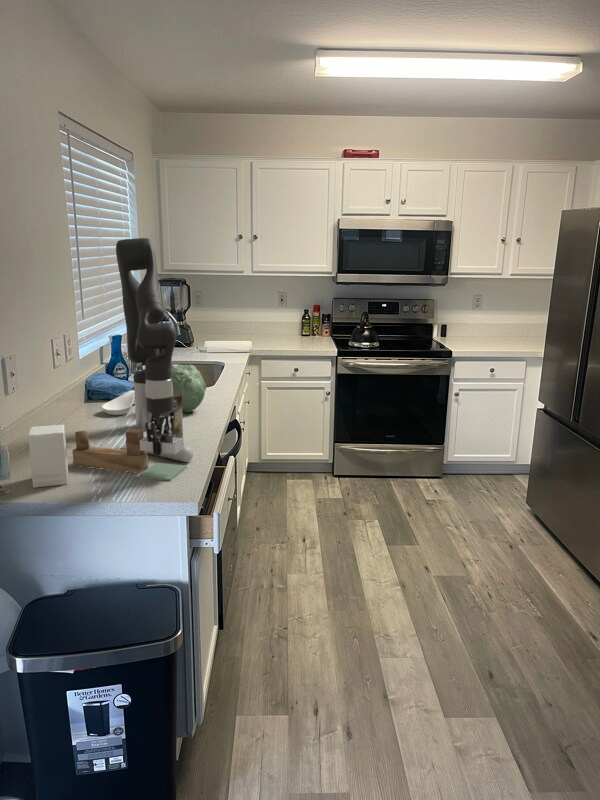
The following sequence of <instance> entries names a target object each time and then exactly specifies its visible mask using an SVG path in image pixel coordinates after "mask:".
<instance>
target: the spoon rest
mask: <svg viewBox="0 0 600 800" xmlns="http://www.w3.org/2000/svg"><path fill="white" fill-rule="evenodd" d="M134 403H135V394H134V389H132V390H128V391H127V392H125V393H123V394H121V395H120V396H117V397H116V398H113V399H112V400H110V401H107V402H105V403H103V404H102V405H101V410H102V411H103V412H104V413H106V414H108V415H109V416H110V415H111V416H123V415H126V414H127V413H128V412H129V411H130V410H131V408H132V407H133V404H134Z"/></svg>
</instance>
